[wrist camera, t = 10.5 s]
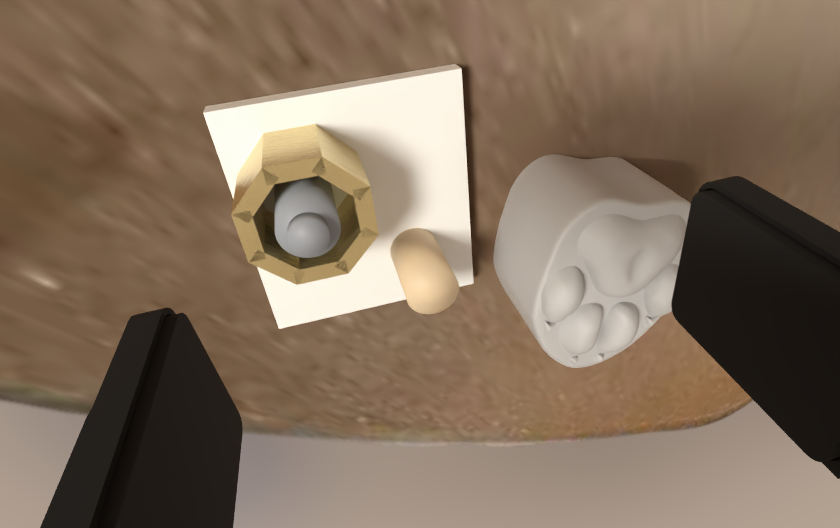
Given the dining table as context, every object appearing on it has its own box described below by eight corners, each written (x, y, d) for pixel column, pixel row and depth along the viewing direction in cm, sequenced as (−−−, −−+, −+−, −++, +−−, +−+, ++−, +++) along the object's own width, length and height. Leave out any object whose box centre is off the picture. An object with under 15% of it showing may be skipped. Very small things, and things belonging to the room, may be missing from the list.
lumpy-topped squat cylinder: (649, 158, 36) (740, 212, 29) (593, 305, 43) (656, 378, 36) (515, 152, 33) (580, 211, 26) (478, 310, 40) (522, 391, 33)
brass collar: (350, 117, 28) (363, 148, 24) (370, 223, 32) (384, 265, 28) (225, 139, 27) (217, 176, 23) (261, 246, 31) (259, 293, 27)
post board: (455, 63, 29) (503, 98, 23) (468, 274, 38) (506, 340, 31) (205, 106, 27) (185, 156, 21) (278, 318, 36) (279, 397, 30)
